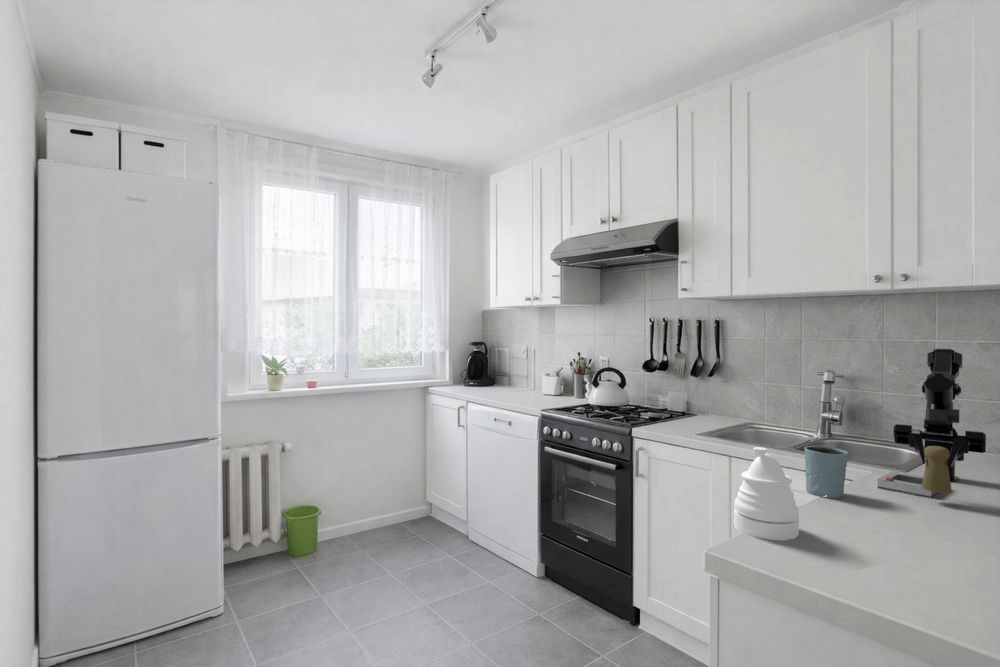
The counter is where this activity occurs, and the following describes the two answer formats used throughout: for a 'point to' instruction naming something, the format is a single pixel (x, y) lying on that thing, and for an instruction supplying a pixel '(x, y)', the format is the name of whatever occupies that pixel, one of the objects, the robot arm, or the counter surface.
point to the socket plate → (904, 484)
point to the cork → (937, 470)
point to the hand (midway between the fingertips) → (936, 464)
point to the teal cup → (825, 471)
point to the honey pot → (766, 501)
